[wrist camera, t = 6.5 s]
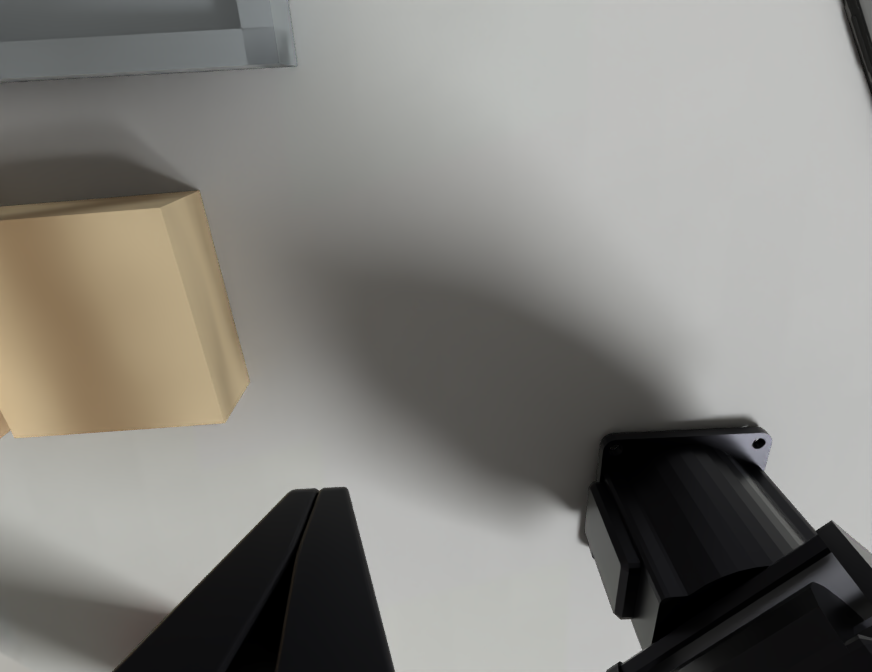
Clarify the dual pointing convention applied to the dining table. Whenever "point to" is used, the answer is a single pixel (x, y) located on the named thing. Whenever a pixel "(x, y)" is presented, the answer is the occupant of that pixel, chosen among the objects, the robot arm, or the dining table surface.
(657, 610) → the robot arm
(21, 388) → the tan beveled block
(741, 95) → the dining table surface
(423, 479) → the dining table surface
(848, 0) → the smartphone
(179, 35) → the tray
